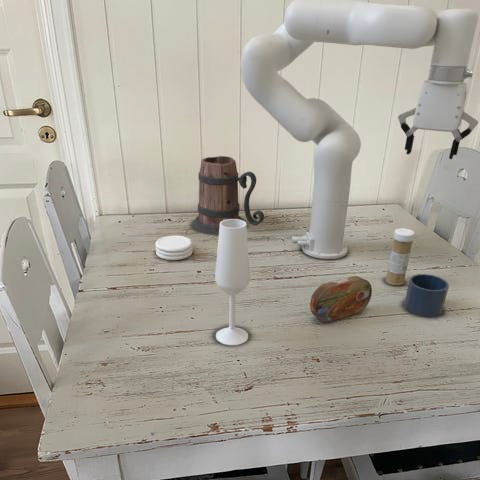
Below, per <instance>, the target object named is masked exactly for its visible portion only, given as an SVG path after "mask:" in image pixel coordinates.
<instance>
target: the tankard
mask: <svg viewBox="0 0 480 480" xmlns="http://www.w3.org/2000/svg"><path fill="white" fill-rule="evenodd" d="M248 177H249V178H250V186H249V188H248V185H247V182H248ZM239 185H240V187H241V188H242V189H244V190H245V189H247V188H248V190H247V191H246V193H245V195H244V200H243V211H244V215H245V219H246V221H247V222H248V223H249V224H250V225H251V226H254V227H255V226H259V225H260V224H261V223H263V222H264V220H265V214H264V212H263V211H262V210H258V209H257V210H256V211H255V212H253V214H251V210H250V199H251V195H252V192H254V189H255V187H256V185H257V176H256V174H255V173H254V172H252V171H246V172H244V173H242V174H241V175H240V176H239V172H238V168H237V161H236V159H234V158H233V157H230V156H225V155H219V156H208V157H204V158H201V161H200V168H199V171H198V204H197V211H198V216H196V218H195V219H194V221H193V222H192V223H191V227H192V229H193V230H194V231H197V232H199V233H202V234H206V235H213V236H215V235H216V236H219V227H220V222H221V221H223V220H227V219H238V220H242V221H244V220H243V218H242V217H241V216H240V203H239ZM257 216H258V217H257Z"/></svg>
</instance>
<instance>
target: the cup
mask: <svg viewBox="0 0 480 480" xmlns="http://www.w3.org/2000/svg"><path fill="white" fill-rule="evenodd" d="M449 284H450V283H448V281H447V280H446V279H444V278H442V277H440V276H437V275H433V274H429V273H418V274H414V275H412V276H410V277H409V279H408V284H407V288H406V293H405V298H404V304H403V306H404V308H405V310H407V312H409V313H410V314H412V315H415V316H417V317H418V316H419V317H421V318H422V317H423V318H434V317H435V318H436V317H438V316H440V315H441V314H443V313H442V312H443V310H444V307H445V303H446V299H447V295H448V291H449V288H450V285H449Z"/></svg>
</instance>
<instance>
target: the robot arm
mask: <svg viewBox="0 0 480 480" xmlns="http://www.w3.org/2000/svg"><path fill="white" fill-rule="evenodd" d="M478 20H479V12H478V11H477V10H476V9H474V8H464V7H463V8H461V7H460V8H459V7H457V8H447V9H443V10H442V9H435V8H429V7H427V6H423V5H422V6H421V5H405V4H404V5H403V4H387V3H374V2H369V1H365V0H292V2H290V4H288V6H287V8H286V10H285V13H284V19H283V23H282V24H281V25H280V26H279V27H278V28H276V29H275V30H274V31H273V32H272V33H267V34H258V35H256V36H254V37H252V38H251V39H249V40H248V41H247V42H246V44H245V45H244V47H243V50H242V52H241V56H240V64H239V65H240V66H239V67H240V75H241V79H242V82H243V85H244V87H245V89H246V90H247V92H248V93H249V95H250V96H251V98H253V100H255V101H256V102H257V104H259V105H260V106H261V107H262V108H263V109H264V110H265V111H266V112H267V113H268V114H269V115H270V116H271V117H272V118H273V119H274V120H275V121H276V122H277V123H278V124H279V125H280V126H281V127H282V128H283V129H285V131H286V132H287V133H288V134H289V135H291V136H292V138H294V140H296V141H297V142H301V143H308V142H311V141H312V142H313V143H314V144H315V145H316V147H315V151H314V156H313V187H312V198H311V208H310V220H309V229H308V230H309V231H306V233H305V234H303V235H302V236H297V235H296V236H291V244H297V247H301V251H302V252H303V253H304V254H306V255H307V256H309V257H311V258H315V259H319V260H336V259H341V258H343V257H345V256H346V255H347V254H348V246H347V245H346V244H345V243H344V236H345V229H346V222H347V214H348V209H349V208H348V207H349V199H350V192H351V184H352V183H351V181H352V169H353V163H354V161H355V159H356V158H357V157H358V156H359V153H360V151H361V148H362V147H361V146H362V143H361V138H360V135H359V134H358V132H357V130H356V129H355V128H354V127H352V126H351V124H349V122H347V121H346V120H345V119H344V118H343V117H342V116H341V115H340V114H339V112H337V111H336V110H335V109H334V108H333V107H332V106H331V105H329V104H328V103H327V102H326V101H324V100H322V99H320V98H316V97H313V98H312V97H310V98H306V97H305V96H304V95H303V94H301V92H299V91H298V90H297V89H296V88H295V86H294V85H292V84H291V83H290V82H289V81H288V80H287V79H285V78H284V77H282V76H281V75H280V73H279V72H280V71H282V70H284V69H285V68H287V67H288V66H289V65H291V64H292V63H293V62H294V61H295V60H297V58H299V56H301V55H302V54H303V53H304V52H305V51H307V50H308V49H309V48H310V47H311V46H312V45H313V44H314V43H326V44H337V45H345V46H346V45H347V46H375V47H385V48H386V47H387V48H397V49H408V50H412V49H413V50H415V49H419V48H423V47H430V46H431V47H432V46H433V50H432V55H431V59H430V66H429V69H428V74H427V75H428V76H427V80H424V81H423V83H422V86H421V89H420V92H419V95H418V98H417V102H416V107H414V108H412V109H410V110H407V111H405V112H402V113H400V114H398V117H397V119H398V121H399V125H400V128H401V130H402V131H403V132H404V135H405V136H406V139H405V145H404V151H406V153H405V154H406V155H410V154H412V150H413V145H414V140H415V135H414V134H415V133H416V131H417V130H424V131H433V132H447V133H451V134H452V136H453V138H454V139H453V140H452V143H451V148H450V152H449V156H448V159H449V160H453V158H454V156H458V151H459V147H460V143H461V141H462V140H463V139H465V138H466V137H468V136H469V135H470V134H471V133H472V132H473V130H475V128H476V127H477V125H478V124H479V121H478V120H477V119H476V118H474V117H473V116H472V115H470V114H469V113H467V112H466V111H465V105H466V99H467V89H468V83H467V82H465V80H466V79H468V78H473V74H474V70H470V69H469V68H468V63H469V62H470V61H469V60H470V55H471V52H472V47H473V42H474V38H475V34H476V30H477V27H478V26H477V25H478ZM409 117H413V120H412V127H410V126H409V124H408V123H407V118H409ZM462 120H463V121H465V122H466V123H468V124H469V125H468V126H467V128H466V129H464V130H463V131H460V129H459V128H460V126H461V124H462Z"/></svg>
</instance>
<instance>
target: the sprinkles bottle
mask: <svg viewBox="0 0 480 480" xmlns="http://www.w3.org/2000/svg"><path fill="white" fill-rule="evenodd" d="M414 239H415V231H414V230H412V229H409V228H406V227H405V228H404V227H403V228H401V227H400V228H396V229H395V230H394V233H393V242H392V246H391V252H390V256H389V261H388V266H387V273H386V277H385V282H386V283H387V284H389V285H392V286H396V287H397V286H399V287H400V286H403V285H404V283H405V278H406V273H407V270H408V266H409V261H410V257H411V250H412V246H413V242H414Z"/></svg>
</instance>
